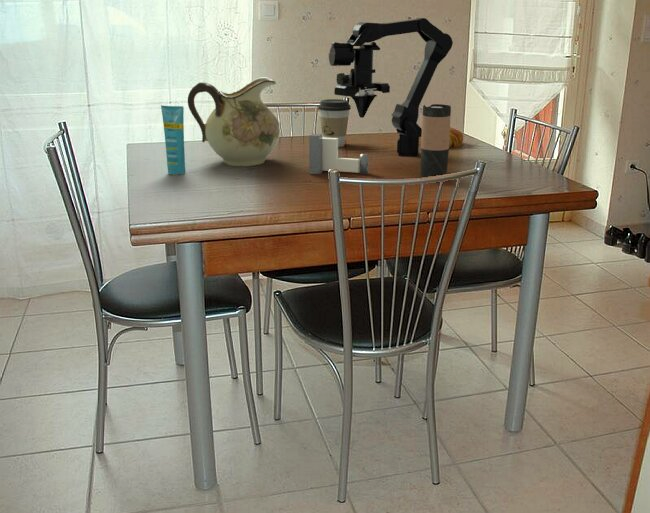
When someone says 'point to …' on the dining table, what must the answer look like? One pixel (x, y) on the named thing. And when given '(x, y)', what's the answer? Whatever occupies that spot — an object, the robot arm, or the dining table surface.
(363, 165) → the hinge post
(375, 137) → the dining table surface
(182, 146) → the tube
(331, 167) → the gate
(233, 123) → the pitcher
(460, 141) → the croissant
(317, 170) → the post
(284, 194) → the dining table surface
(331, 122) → the coffee cup
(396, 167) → the dining table surface
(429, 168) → the travel mug
